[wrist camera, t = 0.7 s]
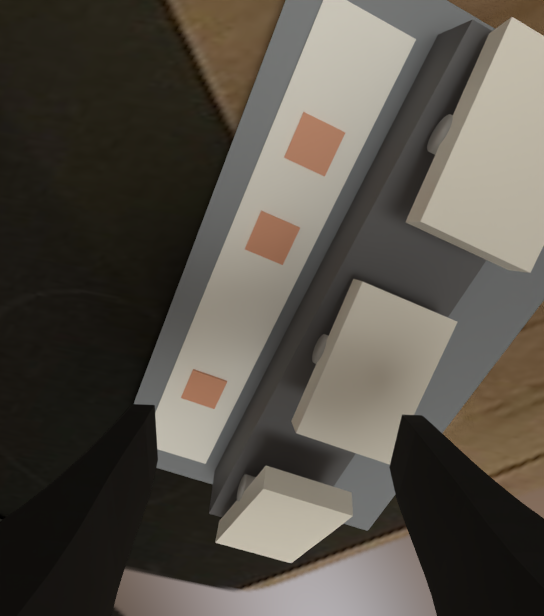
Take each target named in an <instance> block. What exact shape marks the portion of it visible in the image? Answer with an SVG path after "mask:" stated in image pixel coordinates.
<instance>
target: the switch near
mask: <svg viewBox="0 0 544 616" xmlns="http://www.w3.org/2000/svg"><path fill="white" fill-rule="evenodd" d="M427 150H428V152H430V153H432V154H434V155H435V157H434V159H433V161H432V163H431V166H430V168H429V170H428V172H427V175H426V177H425V179H424V181H423V184H422V186H421V188H420V190H419V193H418V195H417V197H416V199H415V202H414V204H413V206H412V208H411V211H410V213H409V215H408V217H407V220H406V223H408V224H410V225H412V226H414V227H417V228H419V229H421V230H423V231H425V232H427V233H429V234H432V235H434V236H436V237H438V238H440V239H442V240H445V241H447V242H449V243H451V244H453V245H455V246H457V247H460V248H462V249H464V250H466V251H468V252H470V253H473V254H475V255H477V256H479V257H481V258H483V259H485V260H488V261H490V262H492V263H494V264H496V265H498V266H501V267H503V268H505V269H507V270H511V271H519V272H527V273H531V271H532V269H533V267H534V265H535V262H536V260H537V258H538V256H539V254H540V252H541V250H542V248H543V246H544V36H543V35H541V34H540V33H538V32H536V31H535V30H533V29H531V28H530V27H528V26H526V25H525V24H523V23H521V22H520V21H518V20H516V19H515V18H513V17H511V18H510V19H508V20H507V21H506V22H504V23H503V24H501V25H500V26H499V27H497V28H496V29H495V30H493V31H492V32H490V33H489V35H488V37H487V39H486V42H485V44H484V46H483V48H482V51H481V53H480V55H479V57H478V60H477V62H476V64H475V66H474V69H473V71H472V73H471V75H470V78H469V80H468V82H467V84H466V87H465V89H464V91H463V93H462V96H461V98H460V100H459V102H458V105H457V107H456V109H455V111H454V114H453V115H451V114H448V115H446V116H445V117H444V118H443V119H442V120H441V121H440V122H439V123H438V125H437V126H436V127H435V129H434V131H433V132H432V134H431V136H430V139H429V141H428V145H427Z"/></svg>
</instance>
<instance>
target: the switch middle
mask: <svg viewBox="0 0 544 616" xmlns="http://www.w3.org/2000/svg"><path fill="white" fill-rule="evenodd" d="M456 324H457V321H455V320H452V319H450V318H448V317H445V316H443V315H440V314H438V313H436V312H433V311H431V310H429V309H426V308H424V307H422V306H419V305H417V304H415V303H412V302H410V301H407V300H405V299H403V298H400V297H398V296H396V295H393V294H391V293H389V292H386V291H384V290H382V289H379V288H377V287H374V286H372V285H370V284H367V283H365V282H363V281H360V280H356V279H353V281H352V283H351V285H350V288H349V290H348V292H347V295H346V297H345V299H344V302H343V304H342V306H341V308H340V311H339V313H338V315H337V318H336V320H335V322H334V324H333V327H332V329H331V331H330V334H329V336H328V335H325V334H323V335H322V336H321V337H320V338H319V339H318V341H317V343H316V345H315V348H314V351H313V355H312V361H313V363H315V364H316V366H315V368H314V370H313V373H312V375H311V377H310V379H309V382H308V384H307V386H306V389H305V391H304V393H303V396H302V398H301V400H300V402H299V405H298V407H297V409H296V412H295V414H294V416H293V418H292V421H291V422H292V425H293V427H294V429H295V432H296V433H297V434H300V435H303V436H306V437H309V438H312V439H315V440H318V441H321V442H324V443H327V444H330V445H333V446H336V447H339V448H342V449H345V450H348V451H351V452H354V453H356V454H359V455H362V456H365V457H368V458H371V459H374V460H377V461H380V462H383V463H386V464H389V465H390V463H391V458H392V454H393V450H394V446H395V442H396V437H397V433H398V429H399V425H400V421H401V417H402V415H414V414H415V412H416V409H417V407H418V405H419V403H420V401H421V399H422V397H423V395H424V392H425V390H426V388H427V386H428V384H429V382H430V380H431V378H432V375H433V373H434V371H435V369H436V367H437V365H438V363H439V360H440V358H441V356H442V354H443V352H444V350H445V348H446V346H447V343H448V341H449V339H450V337H451V335H452V333H453V331H454V329H455V326H456Z"/></svg>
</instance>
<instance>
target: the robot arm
mask: <svg viewBox="0 0 544 616" xmlns="http://www.w3.org/2000/svg"><path fill="white" fill-rule="evenodd" d="M157 462H158V451H157V435H156V418H155V405H143V404H133V405H132V406H130V407H129V408H128V409H127V410H126V411H125V413H124V414H123V415H122V416H121V417H120V418H119V419H118V420H117V421H116V422H115V423H114V424H113V425H112V426H111V427H110V428H109V429H108V430H107V432H106V433H105V434H104V435H103V436H102V437H101V438H100V439H99V440H98V441H97V442H96V443H95V444H94V445H92V446H91V447H90V448H89V449H88V450H87V451H86V452H85V453H84V454H83V455H82V456H81V457H80V458H79V459H78V460H77V461H76V462H75V463H73V464H72V465H71V466H70V467H69V468H68V469H67V470H66V471H64V472H63V473H62V474H61V475H60V476H59V477H58V478H57V479H55V480H54V481H53V482H52V483H51V484H49V485H48V486H47V487H46V488H45V489H43V490H42V491H41V492H40V493H38V494H37V495H36V496H34V497H33V498H32V499H30V500H29V501H28V502H27V503H25V504H24V505H23V506H21V507H20V508H19V509H17V510H16V511H14V512H13V513H11V514H10V515H8V516H7V517H5V518H4V519H2V520H1V521H0V616H111V615H112V611H113V607H114V603H115V599H116V595H117V591H118V588H119V585H120V581H121V578H122V575H123V572H124V569H125V566H126V563H127V560H128V557H129V554H130V552H131V549H132V546H133V543H134V540H135V537H136V534H137V531H138V529H139V526H140V523H141V520H142V517H143V514H144V511H145V508H146V505H147V502H148V499H149V497H150V494H151V489H152V485H153V480H154V476H155V471H156V467H157ZM389 468H390V472H391V477H392V481H393V486H394V490H395V494H396V498H397V501H398V504H399V507H400V510H401V513H402V515H403V518H404V521H405V524H406V526H407V529H408V532H409V534H410V537H411V540H412V542H413V545H414V547H415V550H416V553H417V556H418V558H419V561H420V564H421V566H422V569H423V572H424V574H425V577H426V580H427V583H428V586H429V589H430V592H431V595H432V598H433V602H434V606H435V610H436V613H437V616H544V519H543V518H542V517H541V516H539V515H538V514H537V513H535V512H534V511H532V510H531V509H530V508H528V507H527V506H526V505H524V504H523V503H522V502H520V501H519V500H518V499H516V498H515V497H514V496H513V495H511V494H510V493H509V492H508V491H506V490H505V489H504V488H503V487H502V486H500V485H499V484H498V483H497V482H495V481H494V480H493V479H492V478H491V477H490V476H488V475H487V474H486V473H485V472H484V471H483V470H481V469H480V468H479V467H478V466H477V465H476V464H475V463H473V462H472V461H471V460H470V459H469V458H468V457H467V456H466V455H465V454H464V453H462V452H461V451H460V450H459V449H458V448H457V447H456V446H455V445H454V444H453V443H452V442H451V441H450V440H449V439H447V438H446V437H445V436H444V435H443V434H442V433H441V432H440V431H439V430H438V429H437V428H436V427H435V426H434V425H433V424H432V423H430V422H429V421H428V420H427V419H426V418H425V417H424V416H422V415H402V417H401V421H400V425H399V429H398V433H397V437H396V442H395V446H394V450H393V454H392V458H391V463H390V467H389Z"/></svg>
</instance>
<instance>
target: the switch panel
mask: <svg viewBox="0 0 544 616" xmlns="http://www.w3.org/2000/svg"><path fill="white" fill-rule="evenodd" d="M493 30H495V29H494V28H493V27H491V26H489V25H488V24H486V23H484V22H482V21H481V20H479V19H477V18H476V17H474V16H472V15H471V14H469V13H467V12H466V11H464V10H462V9H460V8H459V7H457V6H455V5H454V4H452V3H450V2H449V1H447V0H286V1H285V4H284V6H283V9H282V12H281V14H280V17H279V20H278V22H277V25H276V28H275V30H274V33H273V36H272V38H271V41H270V43H269V46H268V49H267V51H266V54H265V57H264V59H263V62H262V65H261V67H260V70H259V73H258V75H257V78H256V81H255V83H254V86H253V89H252V91H251V94H250V97H249V99H248V102H247V104H246V107H245V110H244V112H243V115H242V118H241V120H240V123H239V126H238V128H237V131H236V134H235V136H234V139H233V142H232V144H231V147H230V150H229V152H228V155H227V158H226V160H225V163H224V165H223V168H222V171H221V173H220V176H219V179H218V181H217V184H216V187H215V189H214V192H213V195H212V197H211V200H210V203H209V205H208V208H207V211H206V213H205V216H204V219H203V221H202V224H201V226H200V229H199V232H198V234H197V237H196V240H195V242H194V245H193V248H192V250H191V253H190V256H189V258H188V261H187V264H186V266H185V269H184V272H183V274H182V277H181V280H180V282H179V285H178V287H177V290H176V293H175V295H174V298H173V301H172V303H171V306H170V309H169V311H168V314H167V317H166V319H165V322H164V325H163V327H162V330H161V333H160V335H159V338H158V341H157V343H156V346H155V349H154V351H153V354H152V356H151V359H150V362H149V364H148V367H147V370H146V372H145V375H144V378H143V380H142V383H141V386H140V388H139V391H138V394H137V396H136V399H135V402H134V404H143V405H155V418H156V435H157V451H158V462H157V467H156V468H160V469H163V470H166V471H170V472H173V473H176V474H180V475H183V476H186V477H190V478H193V479H196V480H200V481H203V482H206V483H210V484H213V487H212V495H211V502H210V510H209V514H213V515H216V516H220V517H223V516H224V515H225V514H226V513H227V511H228V510H229V509H230V508H231V507H232V505H233V504H234V503H235V502H236V501H237V491H238V487H239V484H240V481H241V479H242V477H243V475H244V474H247V475H250V476H253V477H257V476H258V474H259V473H260V472H261V471H262V470H263V468H264V467H265V466H269V467H273V468H276V469H279V470H282V471H285V472H288V473H292V474H295V475H298V476H301V477H304V478H307V479H311V480H314V481H317V482H320V483H323V484H326V485H330V486H333V487H336V488H339V489H342V490H345V491H349V492H352V506H353V516H352V517H351V518H350V519H349V520H347V521H346V522H345V523H344V524H347V525H350V526H354V527H357V528H360V529H364V530H367V531H368V530H369V528H370V527H371V526H372V524H373V523H374V522H375V520H376V519H377V518H378V516H379V515H380V514H381V513H382V511H383V510H384V509H385V507H386V506H387V505H388V503H389V502H390V501H391V499H392V498H393V497H394V495H395V490H394V486H393V481H392V477H391V472H390V468H389V467H390V465H389V464H386V463H383V462H380V461H377V460H374V459H371V458H368V457H365V456H362V455H359V454H356V453H354V452H351V451H348V450H345V449H342V448H339V447H336V446H333V445H330V444H327V443H324V442H321V441H318V440H315V439H312V438H309V437H306V436H303V435H300V434H297V433H296V432H295V429H294V427H293V425H292V422H291V421H292V418H293V416H294V414H295V412H296V409H297V407H298V405H299V402H300V400H301V398H302V396H303V393H304V391H305V389H306V386H307V384H308V382H309V379H310V377H311V375H312V373H313V370H314V368H315V366H316V364H315V363H313V361H312V355H313V351H314V348H315V345H316V343H317V341H318V339H319V338H320V337H321V336H322V335H323V334H325V335H328V336H329V334H330V331H331V329H332V327H333V324H334V322H335V320H336V318H337V315H338V313H339V311H340V308H341V306H342V304H343V302H344V299H345V297H346V295H347V292H348V290H349V288H350V285H351V283H352V281H353V279H356V280H360V281H363V282H365V283H367V284H370V285H372V286H374V287H377V288H379V289H382V290H384V291H386V292H389V293H391V294H393V295H396V296H398V297H400V298H403V299H405V300H407V301H410V302H412V303H415V304H417V305H419V306H422V307H424V308H426V309H429V310H431V311H433V312H436V313H438V314H440V315H443V316H445V317H448V318H450V319H452V320H455V321H457V324H456V326H455V329H454V331H453V333H452V335H451V337H450V339H449V341H448V343H447V346H446V348H445V350H444V352H443V354H442V356H441V358H440V360H439V363H438V365H437V367H436V369H435V371H434V373H433V375H432V378H431V380H430V382H429V384H428V386H427V388H426V390H425V392H424V395H423V397H422V399H421V401H420V403H419V405H418V407H417V409H416V412H415V414H414V415H422V416H424V417H425V418H426V419H427V420H428V421H429V422H430V423H432V424H433V425H434V426H435V427H436V428H437V429H438V430H439V431H440V432H441V433H443V431H444V430H445V429H446V427H447V426H448V425H449V424H450V422H451V421H452V420H453V418H454V417H455V416H456V414H457V413H458V412H459V410H460V409H461V408H462V407H463V405H464V404H465V403H466V401H467V400H468V399H469V397H470V396H471V395H472V393H473V392H474V391H475V390H476V388H477V387H478V386H479V384H480V383H481V382H482V380H483V379H484V378H485V376H486V375H487V374H488V373H489V371H490V370H491V369H492V367H493V366H494V365H495V363H496V362H497V361H498V359H499V358H500V357H501V355H502V354H503V353H504V352H505V350H506V349H507V348H508V346H509V345H510V344H511V342H512V341H513V340H514V338H515V337H516V336H517V335H518V333H519V332H520V331H521V329H522V328H523V327H524V325H525V324H526V323H527V321H528V320H529V319H530V318H531V316H532V315H533V314H534V312H535V311H536V310H537V308H538V307H539V306H540V304H541V303H542V302H543V301H544V246H543V248H542V250H541V252H540V254H539V256H538V258H537V260H536V262H535V265H534V267H533V269H532V271H531V273H527V272H519V271H511V270H507V269H505V268H503V267H501V266H498V265H496V264H494V263H492V262H490V261H488V260H485V259H483V258H481V257H479V256H477V255H475V254H473V253H470V252H468V251H466V250H464V249H462V248H460V247H457V246H455V245H453V244H451V243H449V242H447V241H445V240H442V239H440V238H438V237H436V236H434V235H432V234H429V233H427V232H425V231H423V230H421V229H419V228H417V227H414V226H412V225H410V224H408V223H406V220H407V217H408V215H409V213H410V211H411V208H412V206H413V204H414V202H415V199H416V197H417V195H418V193H419V190H420V188H421V186H422V184H423V181H424V179H425V177H426V175H427V172H428V170H429V168H430V166H431V163H432V161H433V159H434V157H435V155H434V154H432V153H430V152H428V150H427V145H428V141H429V139H430V136H431V134H432V132H433V131H434V129H435V127H436V126H437V125H438V123H439V122H440V121H441V120H442V119H443V118H444V117H445V116H446V115H448V114H451V115H453V114H454V111H455V109H456V107H457V105H458V102H459V100H460V98H461V96H462V93H463V91H464V89H465V87H466V84H467V82H468V80H469V78H470V75H471V73H472V71H473V69H474V66H475V64H476V62H477V60H478V57H479V55H480V53H481V51H482V48H483V46H484V44H485V42H486V39H487V37H488V35H489V33H490V32H492V31H493Z"/></svg>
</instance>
